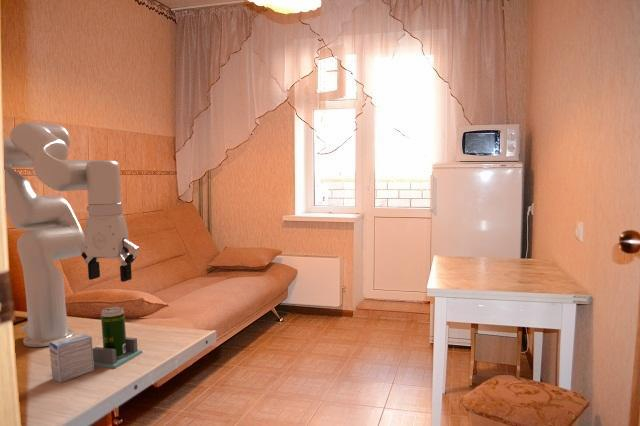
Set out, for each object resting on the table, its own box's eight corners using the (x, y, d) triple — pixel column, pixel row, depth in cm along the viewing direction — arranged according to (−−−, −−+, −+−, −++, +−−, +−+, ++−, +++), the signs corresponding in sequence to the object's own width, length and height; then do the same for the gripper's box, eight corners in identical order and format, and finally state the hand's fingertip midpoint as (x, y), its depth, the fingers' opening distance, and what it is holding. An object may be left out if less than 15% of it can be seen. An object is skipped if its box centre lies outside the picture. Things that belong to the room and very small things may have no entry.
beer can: (129, 351, 126) (126, 305, 125) (124, 359, 121) (121, 311, 120) (107, 353, 125) (103, 307, 124) (101, 361, 120) (97, 313, 119)
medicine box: (85, 367, 118) (83, 332, 117) (94, 371, 115) (92, 335, 115) (51, 378, 112) (48, 342, 111) (60, 383, 109) (57, 346, 108)
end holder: (88, 364, 119) (87, 349, 119) (117, 350, 129) (115, 335, 128) (115, 368, 117) (114, 352, 116) (142, 352, 126) (141, 337, 126)
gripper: (65, 212, 119) (70, 281, 120) (124, 212, 113) (128, 285, 115) (89, 209, 126) (93, 274, 127) (145, 209, 120) (149, 277, 122)
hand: (110, 279), depth 121 cm, fingers open, 9 cm apart
